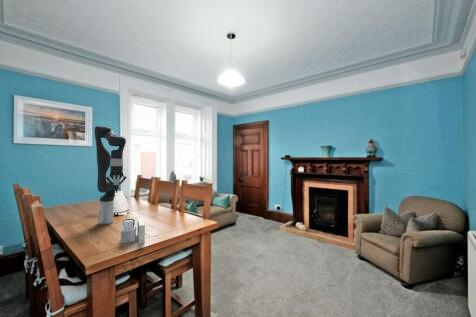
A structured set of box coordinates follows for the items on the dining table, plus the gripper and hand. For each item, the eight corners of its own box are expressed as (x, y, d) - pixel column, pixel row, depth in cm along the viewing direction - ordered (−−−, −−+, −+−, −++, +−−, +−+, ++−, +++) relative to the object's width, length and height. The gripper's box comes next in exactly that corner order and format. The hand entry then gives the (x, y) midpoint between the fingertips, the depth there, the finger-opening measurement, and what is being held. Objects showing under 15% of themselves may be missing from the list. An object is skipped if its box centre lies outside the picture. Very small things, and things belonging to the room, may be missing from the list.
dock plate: (139, 243, 129) (139, 225, 128) (137, 233, 144) (137, 217, 144) (144, 242, 130) (144, 225, 130) (142, 233, 146) (142, 217, 146)
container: (122, 238, 136) (122, 218, 136) (135, 237, 139) (136, 217, 138) (120, 243, 129) (121, 222, 128) (134, 241, 131) (135, 220, 131)
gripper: (127, 164, 152) (126, 189, 152) (105, 164, 146) (105, 190, 146) (127, 165, 146) (127, 190, 146) (104, 165, 139) (104, 191, 139)
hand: (116, 190), depth 146 cm, fingers closed
